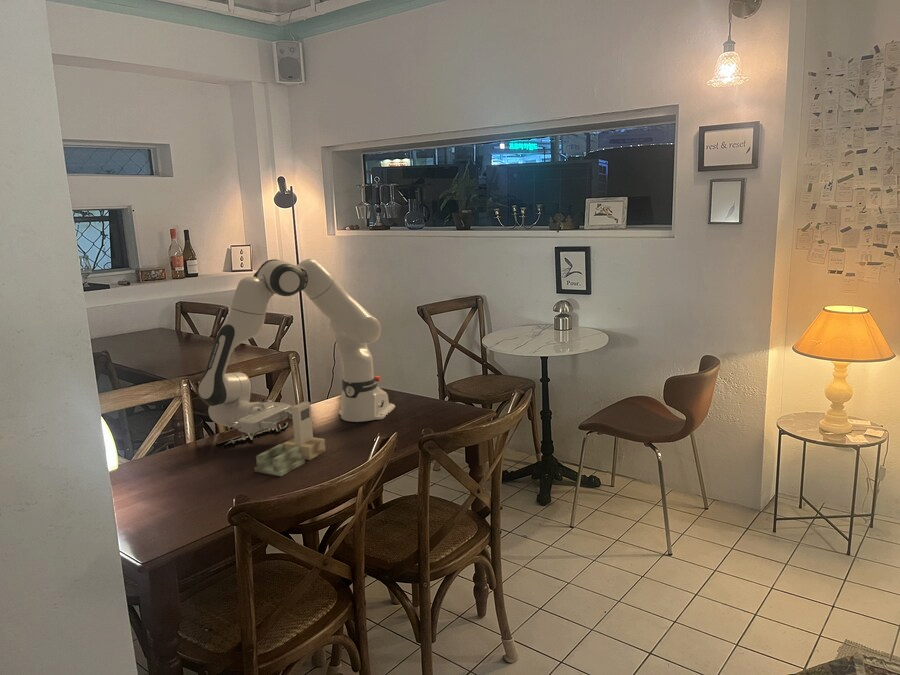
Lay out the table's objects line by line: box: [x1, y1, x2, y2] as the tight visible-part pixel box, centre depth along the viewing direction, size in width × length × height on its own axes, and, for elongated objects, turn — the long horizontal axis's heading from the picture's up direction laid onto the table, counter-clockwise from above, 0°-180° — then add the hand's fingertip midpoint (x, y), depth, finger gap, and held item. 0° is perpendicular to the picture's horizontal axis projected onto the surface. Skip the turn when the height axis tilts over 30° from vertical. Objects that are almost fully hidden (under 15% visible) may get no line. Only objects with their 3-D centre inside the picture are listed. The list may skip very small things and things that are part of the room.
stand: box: [282, 436, 326, 461], centre depth 214 cm, size 8×10×4 cm
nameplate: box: [215, 421, 290, 449], centre depth 231 cm, size 28×2×10 cm
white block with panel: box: [292, 401, 314, 445], centre depth 212 cm, size 6×3×12 cm, turn 154°
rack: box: [253, 443, 306, 477], centre depth 203 cm, size 11×10×5 cm
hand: (285, 420), depth 215 cm, fingers open, 8 cm apart
